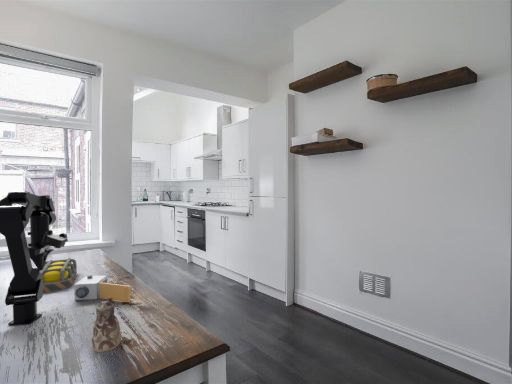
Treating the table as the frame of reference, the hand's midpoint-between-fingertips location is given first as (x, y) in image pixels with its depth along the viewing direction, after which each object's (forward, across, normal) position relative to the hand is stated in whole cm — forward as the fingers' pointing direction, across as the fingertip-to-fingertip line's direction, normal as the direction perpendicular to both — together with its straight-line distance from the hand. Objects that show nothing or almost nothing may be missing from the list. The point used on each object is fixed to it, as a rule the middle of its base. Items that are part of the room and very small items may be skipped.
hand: (41, 270), depth 111 cm
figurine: (+12, -35, -36) cm, 52 cm away
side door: (+12, -3, -26) cm, 29 cm away
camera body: (+12, +5, -16) cm, 20 cm away
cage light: (+12, +26, +8) cm, 30 cm away
